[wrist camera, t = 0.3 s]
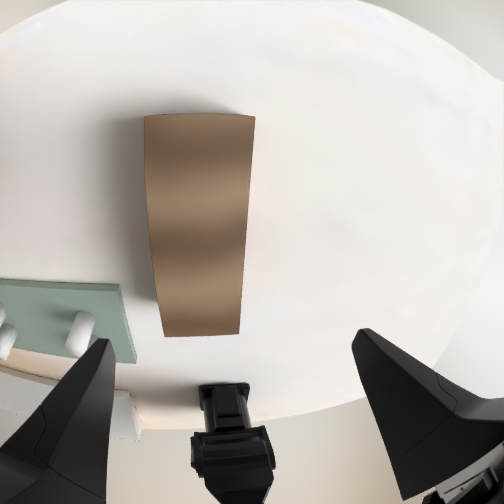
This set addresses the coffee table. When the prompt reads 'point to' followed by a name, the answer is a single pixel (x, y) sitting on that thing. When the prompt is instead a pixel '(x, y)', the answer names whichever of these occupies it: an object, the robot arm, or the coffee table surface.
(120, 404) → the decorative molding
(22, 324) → the peg base
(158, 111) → the coffee table surface
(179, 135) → the walnut shelf board
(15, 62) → the coffee table surface
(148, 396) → the coffee table surface
